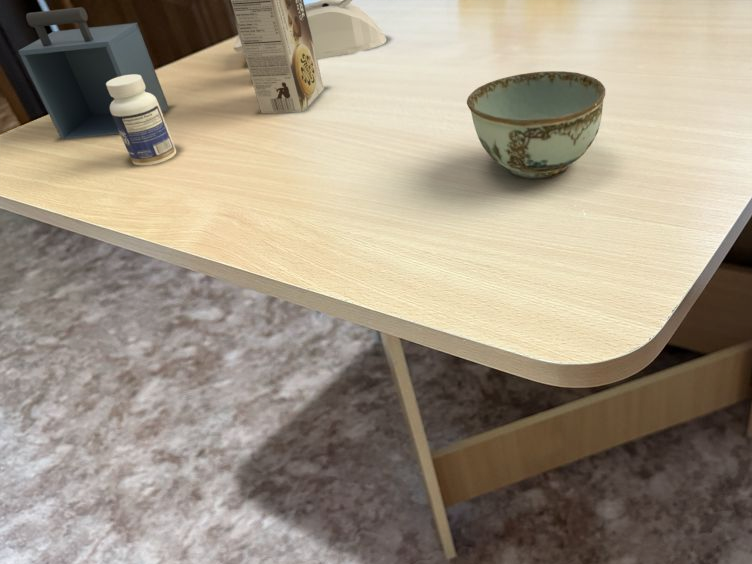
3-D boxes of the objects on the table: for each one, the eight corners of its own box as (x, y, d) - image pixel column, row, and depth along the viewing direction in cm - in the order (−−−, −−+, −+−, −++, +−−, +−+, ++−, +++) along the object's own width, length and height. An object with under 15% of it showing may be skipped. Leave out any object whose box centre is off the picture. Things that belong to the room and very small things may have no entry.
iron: (247, 54, 120) (219, -43, 111) (384, 33, 121) (368, -65, 112) (241, 73, 112) (210, -31, 102) (389, 50, 113) (371, -55, 104)
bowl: (632, 169, 70) (637, 89, 65) (528, 213, 65) (523, 131, 60) (548, 133, 80) (546, 61, 75) (450, 170, 74) (441, 95, 69)
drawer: (170, 110, 100) (145, 134, 93) (92, 118, 101) (62, 142, 94) (125, -9, 90) (94, 8, 83) (39, 1, 91) (1, 18, 84)
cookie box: (284, 93, 101) (252, -30, 91) (326, 91, 100) (297, -34, 90) (260, 116, 94) (221, -14, 84) (304, 115, 93) (270, -18, 83)
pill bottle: (134, 156, 87) (101, 77, 81) (178, 147, 88) (148, 69, 82) (131, 172, 83) (96, 91, 77) (177, 162, 84) (145, 81, 78)
